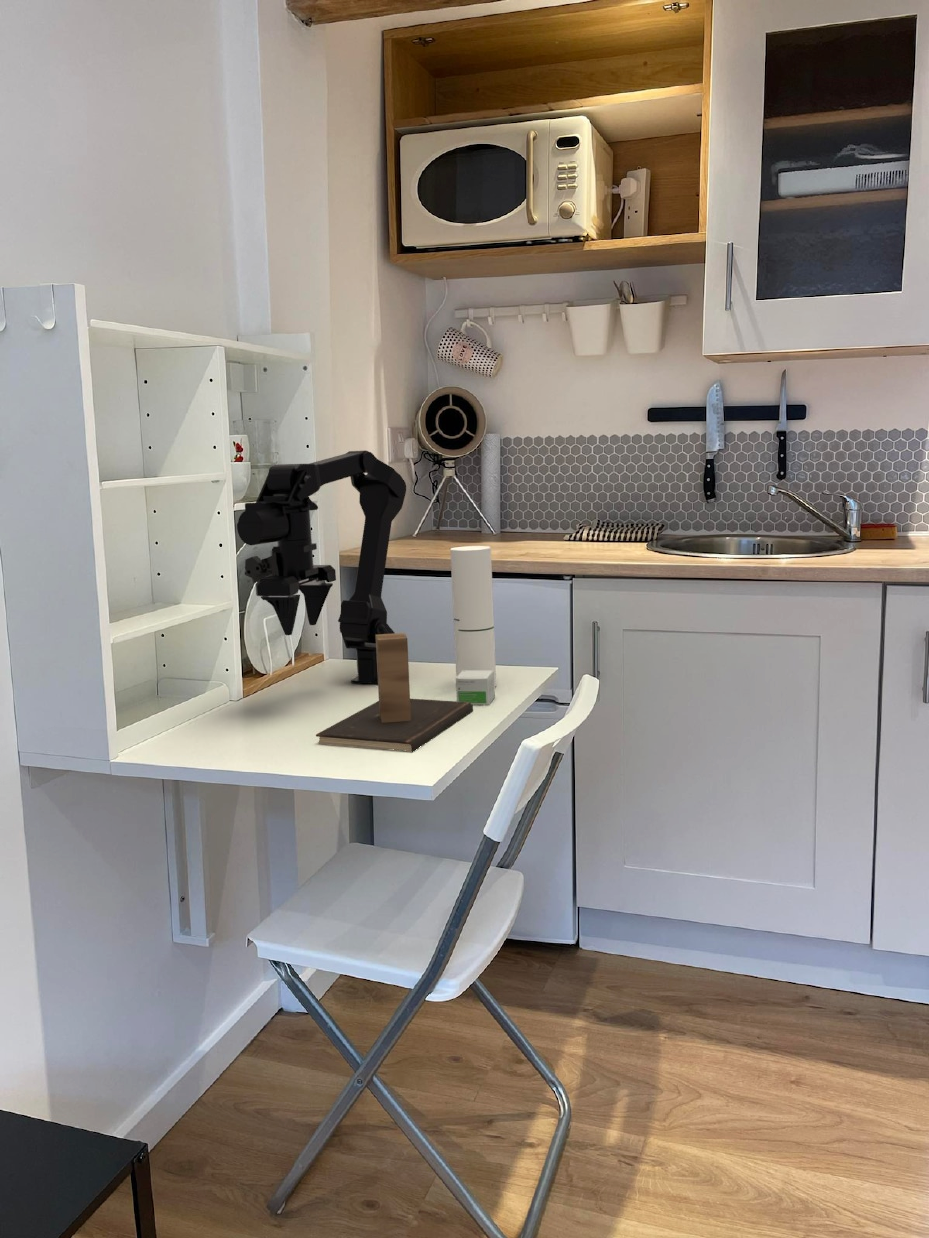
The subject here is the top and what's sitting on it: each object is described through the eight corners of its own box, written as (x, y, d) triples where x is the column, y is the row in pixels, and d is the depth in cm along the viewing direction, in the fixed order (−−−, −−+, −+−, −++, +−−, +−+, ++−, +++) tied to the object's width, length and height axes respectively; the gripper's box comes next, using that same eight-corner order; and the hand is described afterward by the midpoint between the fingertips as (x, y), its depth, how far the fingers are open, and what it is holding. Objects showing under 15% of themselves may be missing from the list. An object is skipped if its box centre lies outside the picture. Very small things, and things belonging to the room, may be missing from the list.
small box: (456, 705, 173) (454, 677, 172) (463, 697, 178) (462, 669, 177) (489, 706, 171) (488, 677, 170) (495, 697, 177) (494, 669, 176)
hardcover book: (316, 748, 154) (315, 734, 153) (386, 709, 175) (385, 696, 174) (413, 757, 148) (412, 742, 147) (473, 715, 168) (472, 702, 168)
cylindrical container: (482, 679, 190) (477, 545, 185) (503, 686, 184) (498, 547, 179) (449, 685, 186) (442, 548, 182) (469, 693, 180) (463, 551, 176)
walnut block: (379, 715, 162) (375, 634, 160) (407, 713, 163) (404, 632, 161) (381, 722, 158) (377, 640, 156) (411, 720, 159) (407, 638, 156)
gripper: (277, 534, 184) (284, 619, 187) (223, 545, 167) (231, 639, 169) (334, 533, 181) (340, 620, 184) (285, 545, 163) (292, 641, 166)
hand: (300, 629), depth 176 cm, fingers open, 9 cm apart
